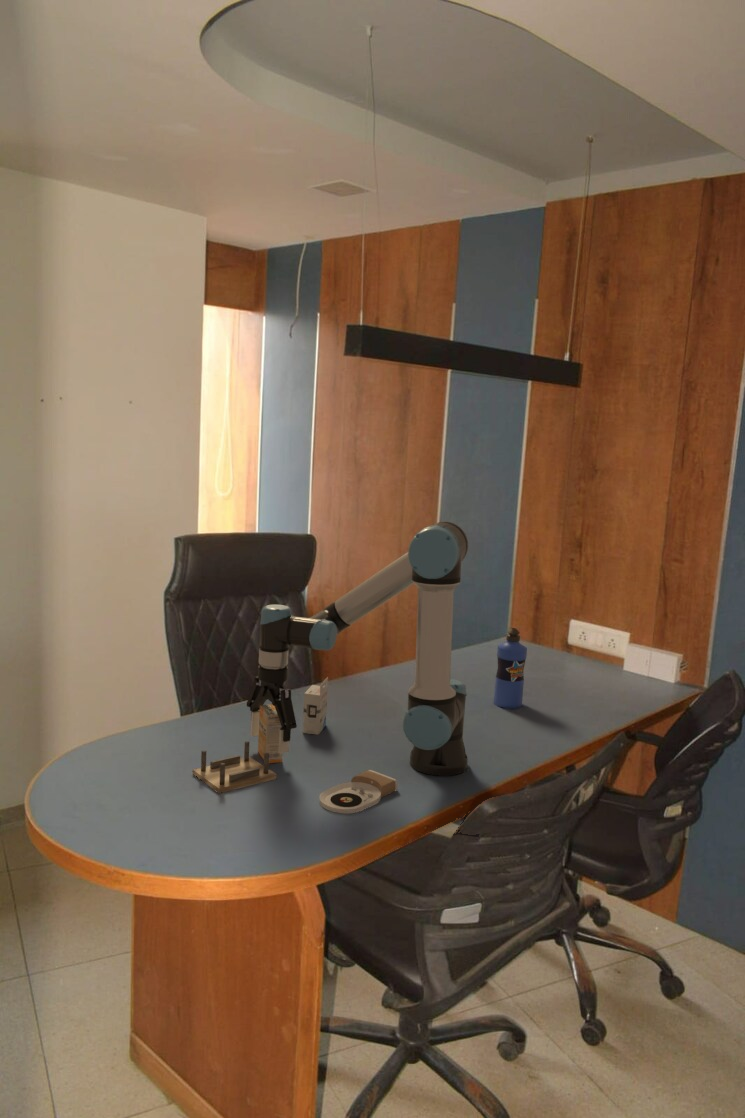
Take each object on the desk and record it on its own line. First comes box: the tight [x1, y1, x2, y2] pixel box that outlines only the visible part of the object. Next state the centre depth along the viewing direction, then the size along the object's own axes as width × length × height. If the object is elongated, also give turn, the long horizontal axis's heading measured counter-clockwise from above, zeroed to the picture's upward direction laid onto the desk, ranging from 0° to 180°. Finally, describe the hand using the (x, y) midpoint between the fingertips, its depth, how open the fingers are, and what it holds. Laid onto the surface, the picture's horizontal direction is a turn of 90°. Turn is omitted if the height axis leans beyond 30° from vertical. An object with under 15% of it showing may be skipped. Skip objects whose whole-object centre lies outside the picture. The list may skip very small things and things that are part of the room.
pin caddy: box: [192, 740, 277, 794], centre depth 218 cm, size 13×16×6 cm
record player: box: [318, 769, 399, 814], centre depth 211 cm, size 12×3×20 cm
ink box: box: [302, 676, 329, 735], centre depth 253 cm, size 9×5×15 cm, turn 168°
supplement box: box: [257, 703, 283, 764], centre depth 231 cm, size 8×5×13 cm, turn 21°
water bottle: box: [493, 627, 528, 710], centre depth 284 cm, size 9×9×25 cm
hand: (269, 743), depth 231 cm, fingers open, 13 cm apart
